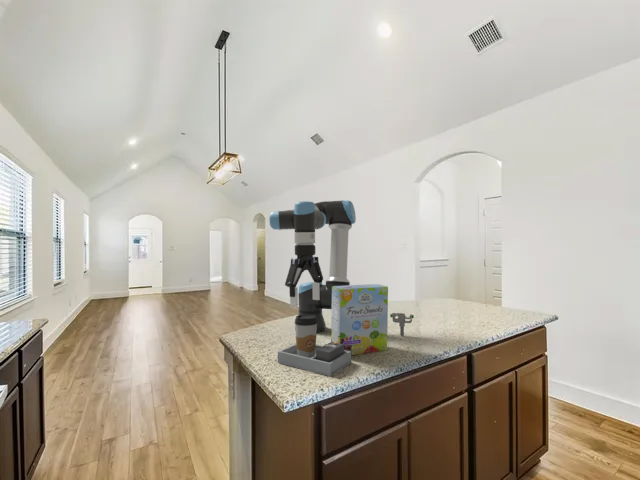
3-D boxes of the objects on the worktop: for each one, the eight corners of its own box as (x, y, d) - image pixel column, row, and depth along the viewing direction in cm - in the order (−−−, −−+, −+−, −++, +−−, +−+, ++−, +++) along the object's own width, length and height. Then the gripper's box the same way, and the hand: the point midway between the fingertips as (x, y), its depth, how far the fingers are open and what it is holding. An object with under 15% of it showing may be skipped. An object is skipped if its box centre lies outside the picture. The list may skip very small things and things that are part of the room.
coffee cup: (300, 363, 112) (300, 320, 112) (290, 356, 119) (291, 315, 119) (321, 359, 116) (321, 317, 116) (311, 352, 123) (311, 313, 123)
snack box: (340, 358, 119) (339, 288, 119) (330, 351, 127) (329, 285, 127) (389, 350, 127) (388, 285, 128) (376, 344, 135) (376, 282, 136)
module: (316, 367, 108) (316, 347, 108) (331, 358, 117) (331, 340, 117) (329, 370, 105) (329, 350, 106) (344, 361, 114) (344, 342, 114)
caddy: (277, 362, 115) (277, 351, 115) (301, 351, 127) (301, 341, 127) (330, 376, 103) (330, 363, 103) (351, 362, 115) (350, 351, 115)
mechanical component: (413, 337, 145) (413, 315, 145) (390, 336, 147) (390, 314, 147) (413, 335, 148) (413, 313, 148) (390, 334, 150) (390, 312, 150)
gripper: (291, 245, 105) (292, 310, 105) (331, 243, 126) (332, 298, 126) (274, 245, 109) (274, 307, 109) (315, 243, 130) (316, 296, 130)
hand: (305, 302), depth 117 cm, fingers open, 13 cm apart
